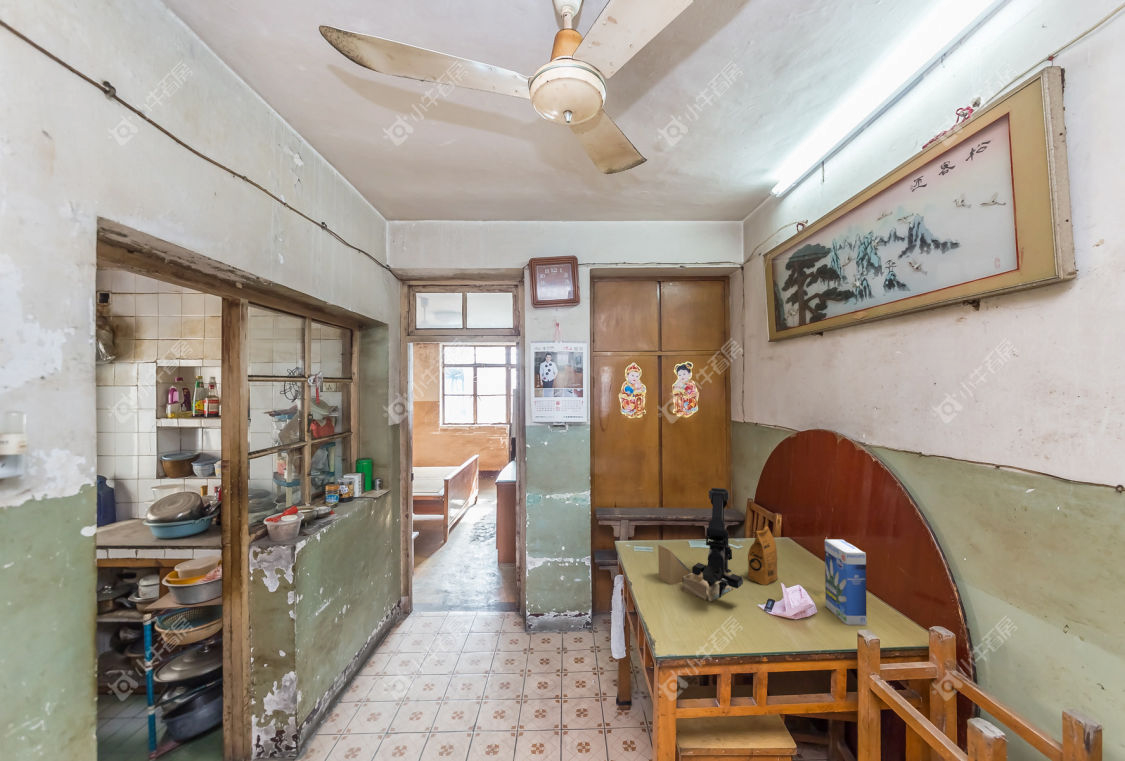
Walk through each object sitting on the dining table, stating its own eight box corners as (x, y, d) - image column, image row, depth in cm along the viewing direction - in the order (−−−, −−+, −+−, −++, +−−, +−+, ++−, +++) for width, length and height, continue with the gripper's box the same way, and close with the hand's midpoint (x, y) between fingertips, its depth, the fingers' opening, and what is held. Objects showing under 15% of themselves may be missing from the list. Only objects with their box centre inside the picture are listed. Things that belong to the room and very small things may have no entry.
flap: (731, 588, 178) (730, 574, 178) (733, 588, 177) (732, 575, 177) (708, 601, 167) (708, 586, 167) (710, 602, 167) (710, 587, 167)
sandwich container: (698, 578, 188) (697, 544, 188) (671, 585, 182) (670, 550, 182) (685, 570, 196) (684, 538, 196) (658, 577, 189) (658, 544, 190)
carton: (708, 578, 188) (708, 565, 188) (731, 587, 179) (731, 574, 179) (682, 589, 177) (682, 576, 177) (705, 600, 168) (705, 587, 168)
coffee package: (744, 578, 187) (743, 528, 187) (759, 571, 194) (758, 523, 194) (765, 587, 179) (764, 535, 179) (781, 579, 186) (780, 529, 186)
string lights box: (824, 606, 163) (823, 538, 164) (844, 606, 163) (843, 538, 163) (846, 625, 150) (845, 552, 150) (868, 625, 150) (867, 552, 150)
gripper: (685, 556, 169) (685, 595, 169) (732, 571, 156) (732, 613, 156) (698, 548, 177) (698, 585, 177) (743, 562, 164) (743, 602, 164)
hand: (716, 596), depth 168 cm, fingers open, 3 cm apart
